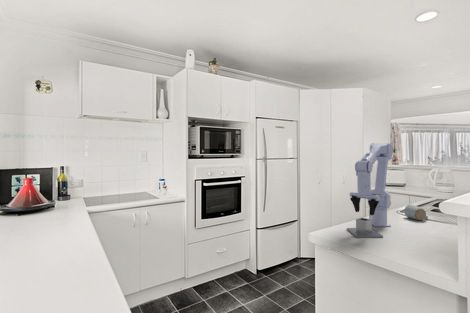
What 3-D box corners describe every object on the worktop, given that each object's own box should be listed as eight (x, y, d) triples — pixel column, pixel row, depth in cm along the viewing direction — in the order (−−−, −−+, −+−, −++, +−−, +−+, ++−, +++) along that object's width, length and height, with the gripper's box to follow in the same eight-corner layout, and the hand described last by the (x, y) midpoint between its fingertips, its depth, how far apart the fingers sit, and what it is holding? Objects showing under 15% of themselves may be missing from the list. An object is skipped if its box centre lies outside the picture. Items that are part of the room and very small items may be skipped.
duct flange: (346, 229, 131) (346, 219, 131) (371, 229, 130) (370, 219, 130) (356, 237, 119) (356, 226, 119) (383, 237, 118) (382, 226, 118)
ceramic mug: (415, 221, 141) (415, 207, 141) (403, 217, 149) (403, 204, 149) (432, 220, 143) (432, 206, 142) (419, 216, 151) (419, 203, 151)
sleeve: (356, 231, 125) (355, 219, 125) (362, 229, 128) (362, 217, 128) (365, 234, 121) (365, 221, 121) (372, 232, 124) (371, 219, 124)
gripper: (345, 184, 128) (346, 211, 128) (373, 187, 115) (374, 217, 116) (354, 183, 132) (355, 209, 132) (382, 186, 119) (383, 215, 119)
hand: (364, 213), depth 124 cm, fingers open, 7 cm apart
